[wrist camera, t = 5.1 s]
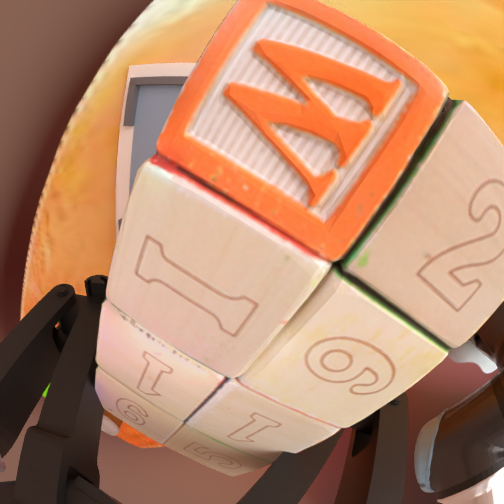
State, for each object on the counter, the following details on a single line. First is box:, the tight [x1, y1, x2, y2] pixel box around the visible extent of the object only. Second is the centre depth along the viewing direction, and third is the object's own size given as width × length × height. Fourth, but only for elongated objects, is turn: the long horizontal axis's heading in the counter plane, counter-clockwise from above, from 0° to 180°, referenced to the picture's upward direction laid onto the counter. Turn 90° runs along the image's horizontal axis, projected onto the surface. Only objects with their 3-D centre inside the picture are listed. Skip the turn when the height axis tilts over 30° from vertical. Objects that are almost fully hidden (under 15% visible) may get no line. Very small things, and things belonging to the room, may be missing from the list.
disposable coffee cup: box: [101, 409, 122, 436], centre depth 56 cm, size 10×10×12 cm
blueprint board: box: [116, 63, 196, 241], centre depth 32 cm, size 14×30×2 cm, turn 170°
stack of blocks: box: [95, 0, 504, 476], centre depth 12 cm, size 21×6×12 cm, turn 150°
